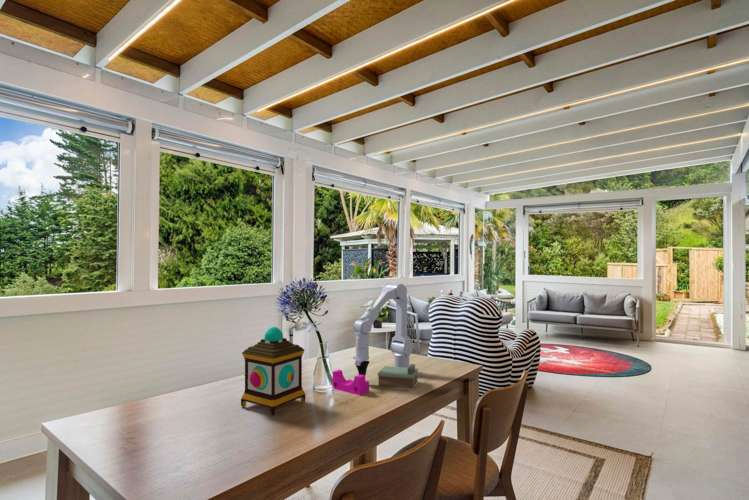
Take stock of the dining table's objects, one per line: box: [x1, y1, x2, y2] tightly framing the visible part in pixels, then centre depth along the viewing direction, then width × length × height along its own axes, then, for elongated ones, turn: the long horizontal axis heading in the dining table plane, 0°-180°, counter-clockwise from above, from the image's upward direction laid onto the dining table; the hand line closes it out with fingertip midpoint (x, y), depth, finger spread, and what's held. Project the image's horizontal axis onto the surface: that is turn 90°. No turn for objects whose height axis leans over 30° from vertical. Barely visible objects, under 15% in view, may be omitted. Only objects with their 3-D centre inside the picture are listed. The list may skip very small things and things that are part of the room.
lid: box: [377, 363, 419, 379], centre depth 188 cm, size 13×16×3 cm
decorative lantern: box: [240, 326, 306, 417], centre depth 163 cm, size 20×20×30 cm
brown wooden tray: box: [378, 372, 418, 391], centre depth 188 cm, size 12×15×5 cm
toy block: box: [332, 369, 370, 396], centre depth 181 cm, size 15×6×8 cm, turn 53°
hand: (362, 377), depth 188 cm, fingers closed
